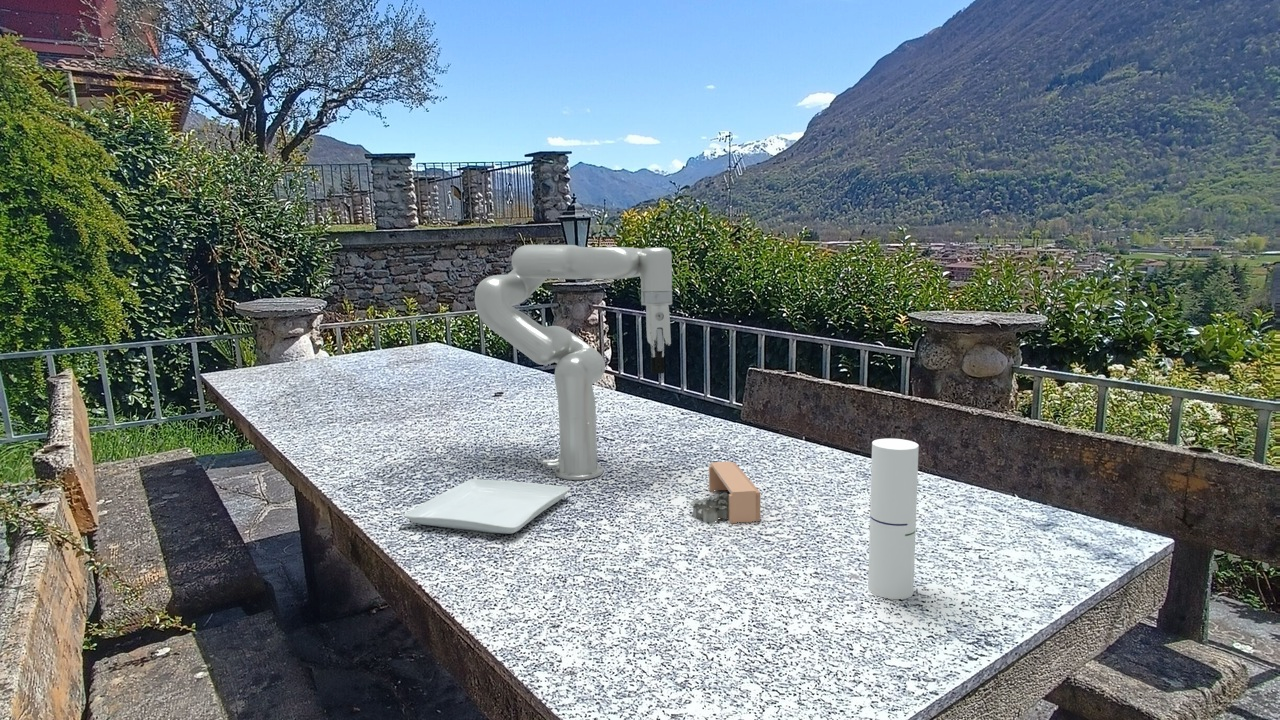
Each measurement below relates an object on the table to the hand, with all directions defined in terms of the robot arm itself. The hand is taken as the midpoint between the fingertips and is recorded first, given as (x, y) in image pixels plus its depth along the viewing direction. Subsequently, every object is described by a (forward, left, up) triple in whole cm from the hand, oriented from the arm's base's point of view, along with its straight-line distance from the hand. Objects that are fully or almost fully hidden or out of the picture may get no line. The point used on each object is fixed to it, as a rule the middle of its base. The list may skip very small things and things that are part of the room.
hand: (657, 372), depth 182 cm
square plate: (-40, -19, -28) cm, 52 cm away
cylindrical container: (+30, -67, -27) cm, 78 cm away
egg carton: (+9, -27, -28) cm, 40 cm away
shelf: (+13, -22, -27) cm, 37 cm away
